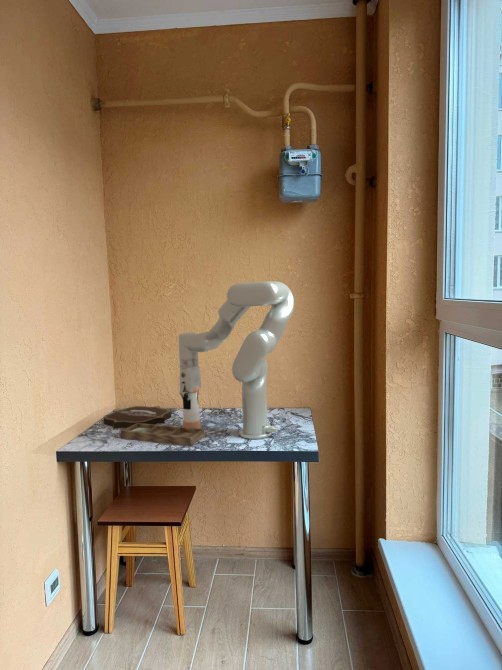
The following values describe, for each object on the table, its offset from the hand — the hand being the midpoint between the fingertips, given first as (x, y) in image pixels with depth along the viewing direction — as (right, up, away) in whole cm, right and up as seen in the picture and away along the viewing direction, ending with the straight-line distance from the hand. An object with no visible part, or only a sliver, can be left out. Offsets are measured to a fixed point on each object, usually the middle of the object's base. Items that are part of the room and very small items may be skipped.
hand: (190, 406), depth 189 cm
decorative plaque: (-26, -9, +17) cm, 32 cm away
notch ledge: (-10, -10, -10) cm, 17 cm away
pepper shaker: (0, -9, +1) cm, 9 cm away
